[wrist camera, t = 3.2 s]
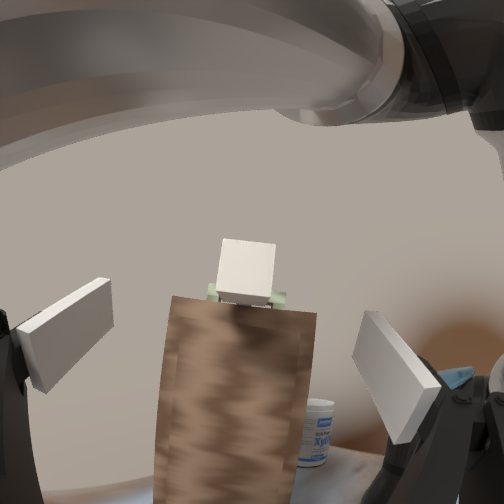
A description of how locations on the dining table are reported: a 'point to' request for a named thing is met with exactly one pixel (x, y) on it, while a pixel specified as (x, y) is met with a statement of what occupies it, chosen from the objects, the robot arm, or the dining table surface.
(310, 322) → the shelf
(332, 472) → the dining table surface
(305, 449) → the supplement tub
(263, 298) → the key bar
